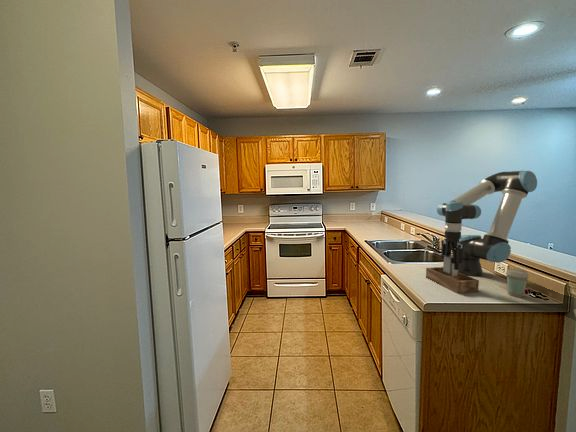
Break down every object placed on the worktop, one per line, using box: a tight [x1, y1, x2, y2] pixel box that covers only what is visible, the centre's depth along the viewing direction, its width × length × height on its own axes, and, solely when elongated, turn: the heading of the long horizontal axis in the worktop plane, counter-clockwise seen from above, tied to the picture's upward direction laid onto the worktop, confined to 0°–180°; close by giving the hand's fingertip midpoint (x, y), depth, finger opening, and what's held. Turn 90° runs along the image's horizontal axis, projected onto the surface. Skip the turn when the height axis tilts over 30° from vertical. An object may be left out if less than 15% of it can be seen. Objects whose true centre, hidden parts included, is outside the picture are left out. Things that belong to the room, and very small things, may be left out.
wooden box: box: [425, 266, 480, 295], centre depth 151 cm, size 11×24×6 cm, turn 10°
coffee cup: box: [505, 268, 530, 298], centre depth 135 cm, size 8×8×12 cm
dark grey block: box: [442, 254, 459, 276], centre depth 150 cm, size 5×5×10 cm
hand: (450, 273), depth 151 cm, fingers closed on dark grey block, 5 cm apart
